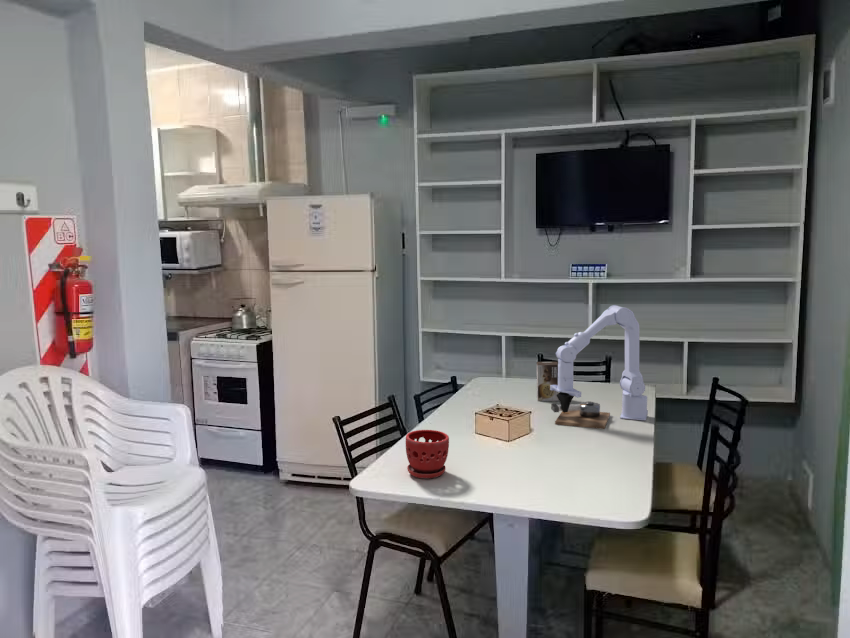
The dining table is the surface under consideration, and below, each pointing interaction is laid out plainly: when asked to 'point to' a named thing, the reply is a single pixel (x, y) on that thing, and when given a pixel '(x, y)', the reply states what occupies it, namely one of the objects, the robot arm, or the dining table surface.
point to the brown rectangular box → (547, 381)
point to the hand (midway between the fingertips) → (565, 411)
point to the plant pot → (427, 453)
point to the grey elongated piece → (581, 408)
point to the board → (582, 420)
